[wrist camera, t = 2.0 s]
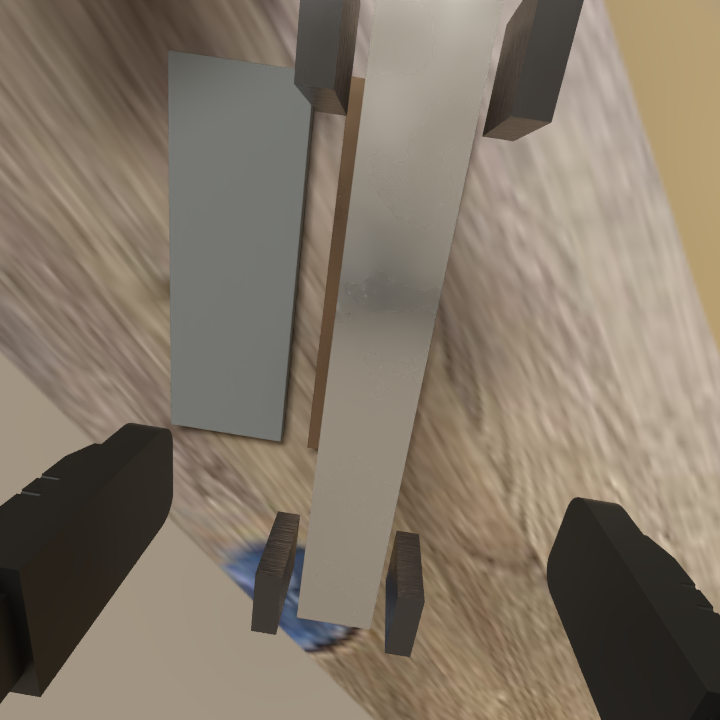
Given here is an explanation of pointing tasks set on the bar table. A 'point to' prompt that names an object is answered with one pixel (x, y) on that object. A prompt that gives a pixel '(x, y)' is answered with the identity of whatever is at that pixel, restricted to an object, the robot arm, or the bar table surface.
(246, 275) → the rubber mat
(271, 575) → the cradle stand
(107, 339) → the bar table surface
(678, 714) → the robot arm
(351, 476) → the steel rail
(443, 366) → the bar table surface
